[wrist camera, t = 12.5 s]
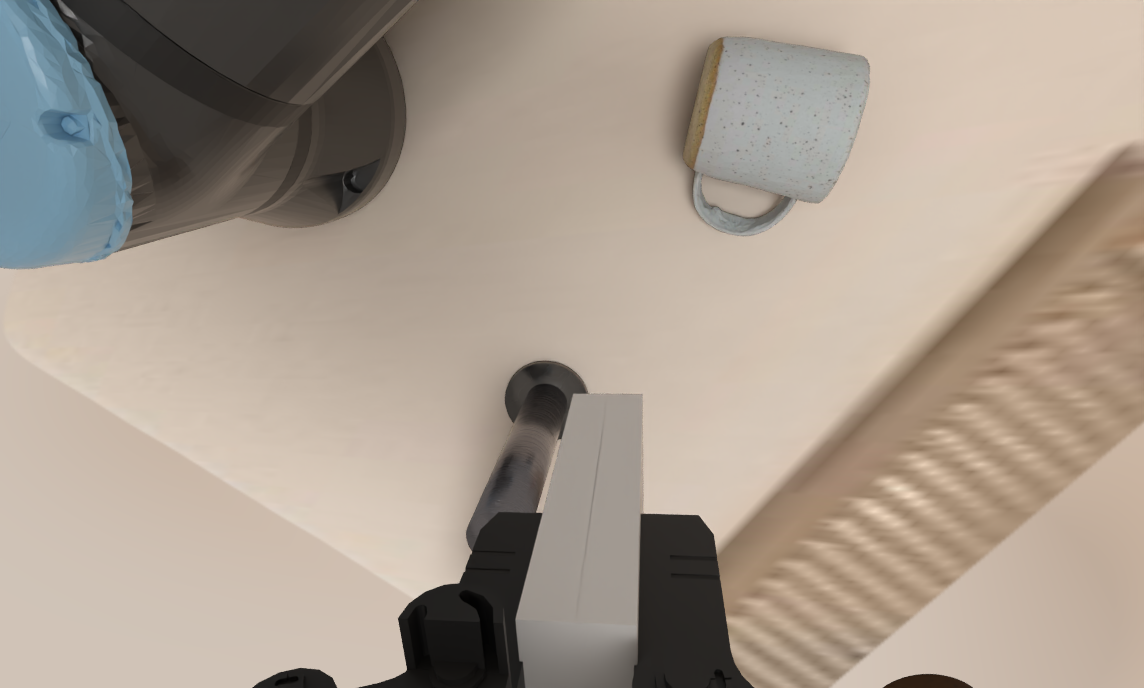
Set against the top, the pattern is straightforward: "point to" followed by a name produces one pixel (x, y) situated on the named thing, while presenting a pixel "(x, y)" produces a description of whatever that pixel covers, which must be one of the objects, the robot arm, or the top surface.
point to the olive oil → (927, 682)
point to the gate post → (527, 440)
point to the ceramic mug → (773, 123)
